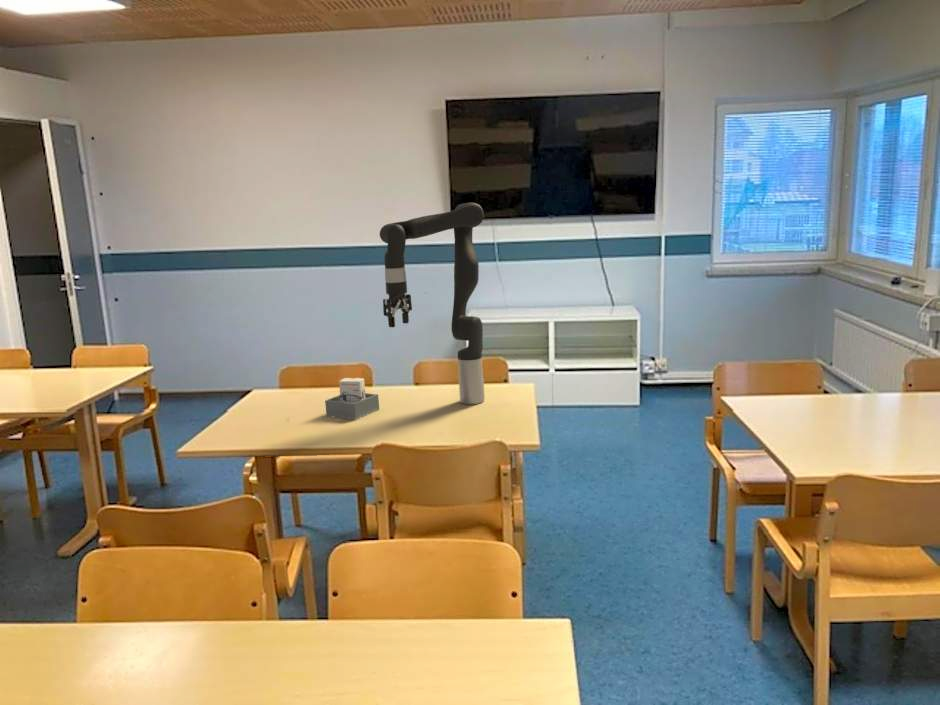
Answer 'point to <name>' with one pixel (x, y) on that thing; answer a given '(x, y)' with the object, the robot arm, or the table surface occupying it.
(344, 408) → the grey bin
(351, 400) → the ink box
